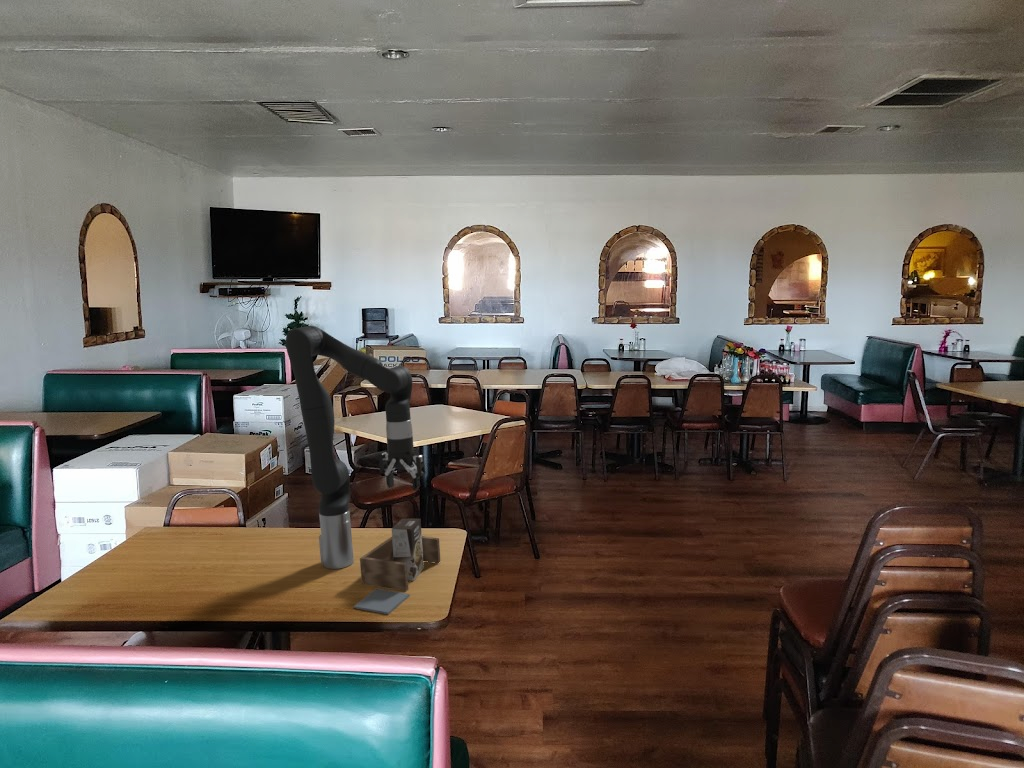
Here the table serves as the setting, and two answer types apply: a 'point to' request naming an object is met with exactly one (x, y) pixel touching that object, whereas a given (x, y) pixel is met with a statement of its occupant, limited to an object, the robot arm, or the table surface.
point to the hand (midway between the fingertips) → (403, 488)
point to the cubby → (393, 564)
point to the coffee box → (408, 546)
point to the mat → (382, 601)
